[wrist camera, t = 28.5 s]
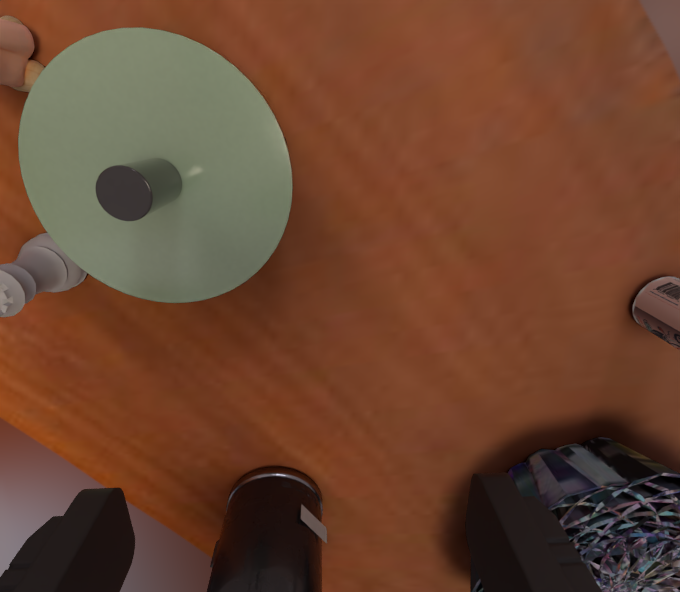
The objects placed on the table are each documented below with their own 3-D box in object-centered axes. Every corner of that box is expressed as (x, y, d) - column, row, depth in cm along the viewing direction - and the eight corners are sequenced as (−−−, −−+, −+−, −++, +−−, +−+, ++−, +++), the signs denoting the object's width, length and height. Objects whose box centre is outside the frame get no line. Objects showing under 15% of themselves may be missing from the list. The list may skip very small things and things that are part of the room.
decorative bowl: (518, 370, 40) (568, 441, 31) (761, 455, 43) (873, 543, 34) (410, 551, 49) (424, 648, 40) (618, 612, 52) (677, 716, 42)
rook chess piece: (97, 286, 33) (33, 332, 26) (38, 286, 33) (-42, 332, 26) (85, 230, 32) (14, 263, 24) (23, 230, 32) (-67, 262, 24)
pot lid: (203, 338, 29) (176, 386, 24) (-15, 196, 25) (-108, 216, 20) (344, 162, 25) (351, 172, 20) (113, -41, 21) (42, -99, 16)
